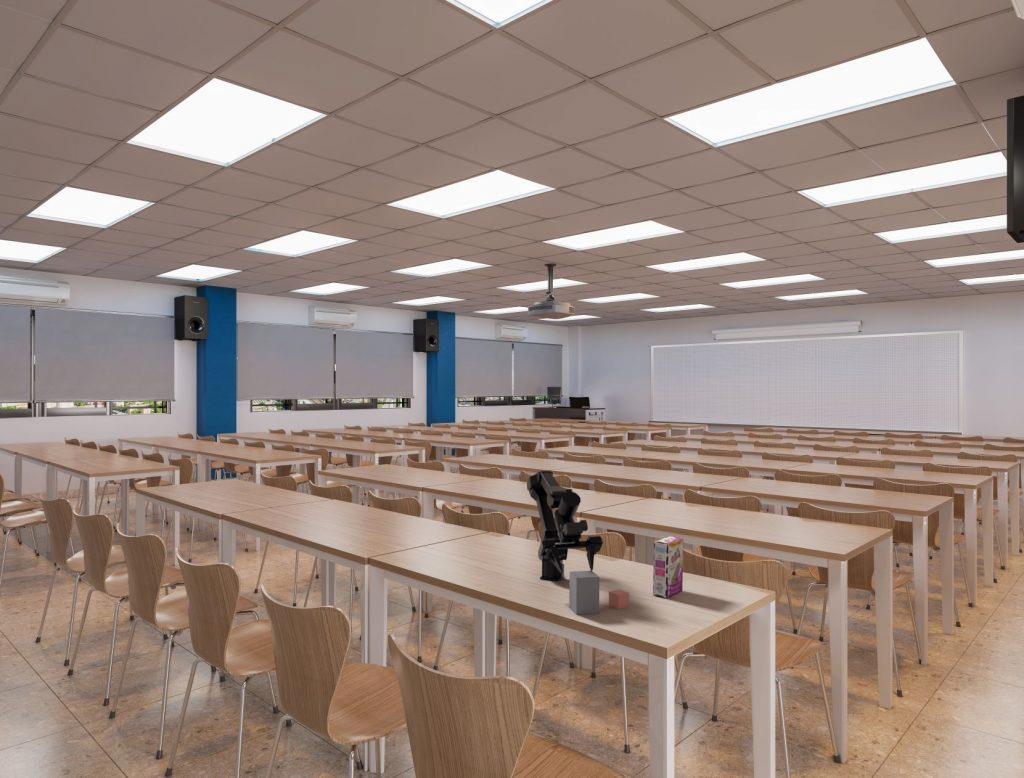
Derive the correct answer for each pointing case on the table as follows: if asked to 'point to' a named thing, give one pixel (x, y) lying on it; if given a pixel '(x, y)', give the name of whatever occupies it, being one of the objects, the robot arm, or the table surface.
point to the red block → (618, 599)
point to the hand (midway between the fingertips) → (577, 571)
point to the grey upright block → (584, 592)
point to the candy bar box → (668, 566)
